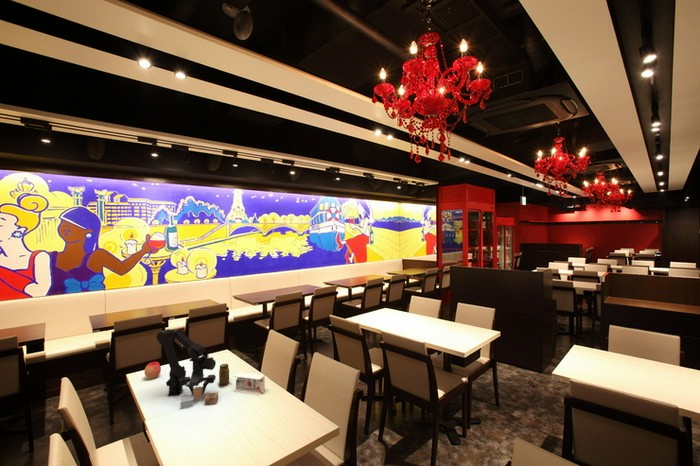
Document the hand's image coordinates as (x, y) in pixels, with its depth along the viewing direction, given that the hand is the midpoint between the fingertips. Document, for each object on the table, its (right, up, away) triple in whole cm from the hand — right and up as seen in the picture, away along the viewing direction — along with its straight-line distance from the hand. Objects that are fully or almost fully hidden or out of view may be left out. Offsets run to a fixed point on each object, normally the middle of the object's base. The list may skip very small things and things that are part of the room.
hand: (198, 394), depth 186 cm
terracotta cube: (0, -1, 0) cm, 1 cm away
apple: (-44, -2, +25) cm, 50 cm away
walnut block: (+11, -1, -7) cm, 14 cm away
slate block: (-1, -1, -10) cm, 11 cm away
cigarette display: (+29, -1, +5) cm, 30 cm away
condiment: (+10, -1, +15) cm, 18 cm away
